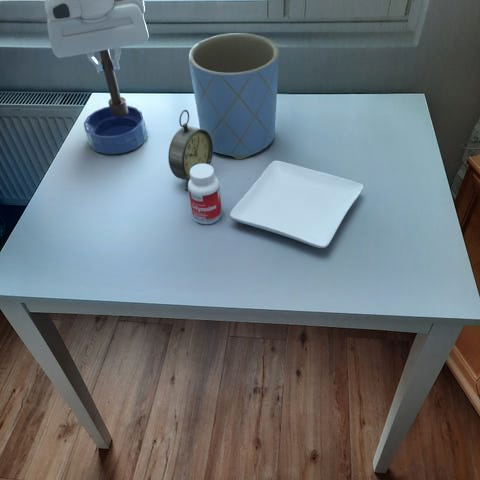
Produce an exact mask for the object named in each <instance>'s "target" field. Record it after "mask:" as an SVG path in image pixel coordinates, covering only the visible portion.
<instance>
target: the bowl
mask: <svg viewBox="0 0 480 480" xmlns="http://www.w3.org/2000/svg"><path fill="white" fill-rule="evenodd" d="M127 108H128V114H127V115H126V116H124V117H121V118H116V117H113V116H112V114H111V110H110V107H109V106H104V107H102V108H100V109H96V110H94V111H93V112H92V113H91V114H89V115H88V116H87V117H86V118H85V121H84V122H83V128H84V131H85V135H86V137H87V138H86V139H87V140H88V144H89V146H90V147H91V148H92V149H93V150H94V151H95V152H98V153H101V154H103V155H119V154H125V153H128V152H131V151H133V150H134V149H137V148H139V147H140V146H141V145H143V144H144V143H145V142H146V140H147V137H148V129H147V126H146V121H145V117H144V113H143V112H142V111H141V110H140V109H138V108H137V107H135V106H131V105H129V104H127Z"/></svg>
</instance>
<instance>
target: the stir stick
mask: <svg viewBox="0 0 480 480" xmlns="http://www.w3.org/2000/svg"><path fill="white" fill-rule="evenodd" d="M97 52H98V56H99V60H100V61H101V63H102V66H103V70H104V72H103V74H104V77H105V81H106V84H107V89H108V92H109V96H110V99H108V102H107V103H108V107H110V110H111V114H112V116H113V117H116V118H121V117H124V116H126V115H127V114H128V108H127V105H128V104H127V100H126V98H125V97H124V96H121V92H120V88H119V85H118V81H117V77H116V73H115V70H114V69H113V65H112V61H111V59H112V58H111V53H110V49H108V50H103V51H97Z"/></svg>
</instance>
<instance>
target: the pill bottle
mask: <svg viewBox="0 0 480 480" xmlns="http://www.w3.org/2000/svg"><path fill="white" fill-rule="evenodd" d="M188 195H189V201H190V209H191V215H192V219H193V220H194V221H195V222H196V223H198V224H201V225H211V224H215V223H216V222H218V221H219V220H220V219H221V218H222V213H223V211H222V210H223V209H222V198H221V189H220V180H219V179H218V177H217V176H216V175H215V169H214V167H213V165H211V164H210V165H209V164H197V165H195V166H193V167H192V168H191V169H190V180H189V182H188Z"/></svg>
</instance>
